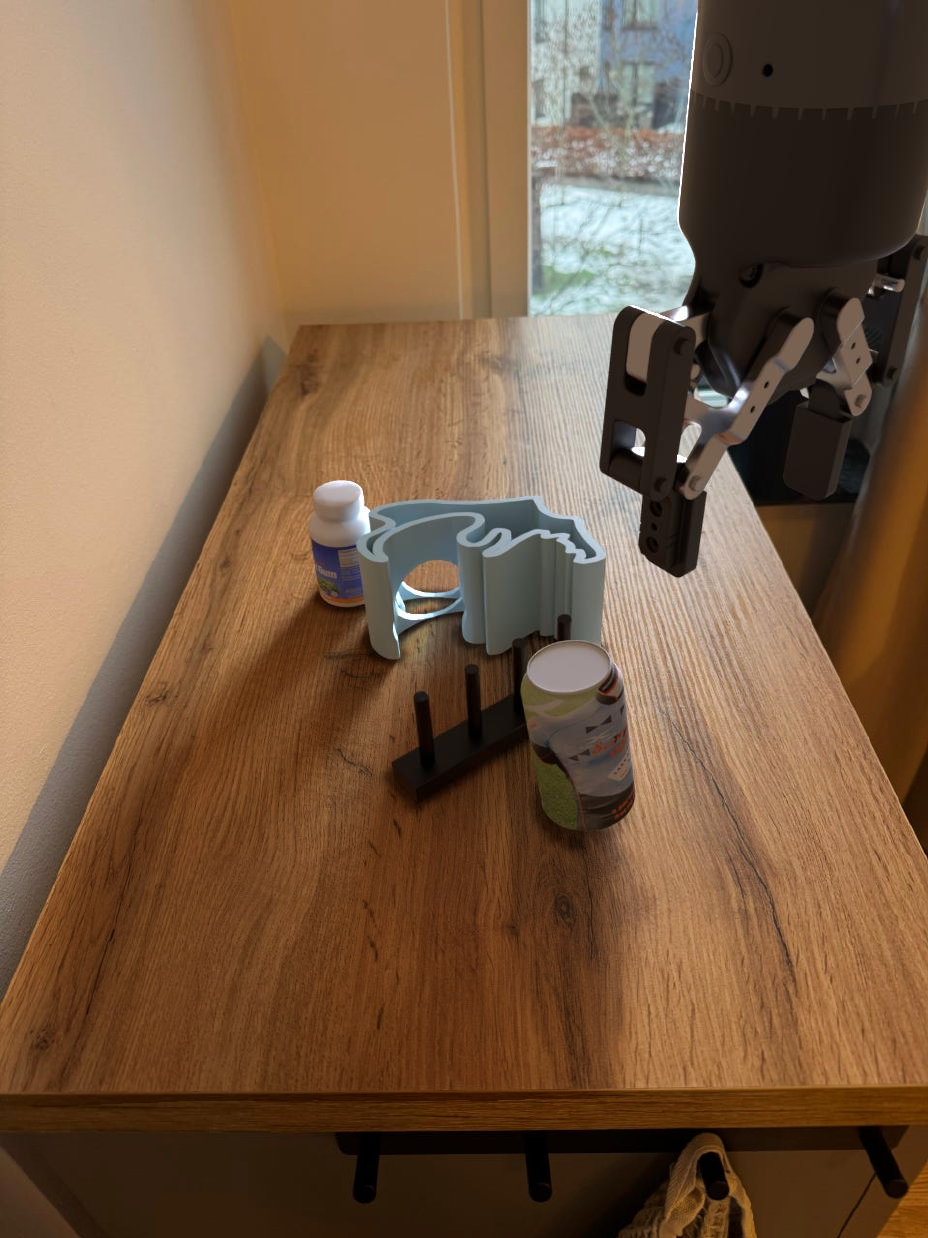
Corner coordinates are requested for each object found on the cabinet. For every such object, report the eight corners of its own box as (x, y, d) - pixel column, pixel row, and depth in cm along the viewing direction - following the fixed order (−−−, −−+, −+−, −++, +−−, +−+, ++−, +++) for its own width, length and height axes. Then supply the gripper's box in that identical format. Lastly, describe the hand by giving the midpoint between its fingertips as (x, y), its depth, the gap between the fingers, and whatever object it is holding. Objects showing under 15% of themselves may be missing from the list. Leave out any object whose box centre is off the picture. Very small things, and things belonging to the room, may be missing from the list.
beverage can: (621, 855, 57) (634, 717, 49) (508, 824, 59) (504, 687, 51) (643, 781, 61) (659, 644, 53) (537, 754, 63) (538, 620, 56)
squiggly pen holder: (583, 583, 78) (588, 489, 72) (602, 661, 70) (608, 562, 64) (372, 596, 78) (359, 503, 72) (368, 675, 70) (352, 577, 64)
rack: (596, 696, 67) (601, 616, 63) (417, 803, 60) (407, 723, 56) (569, 674, 69) (571, 596, 65) (392, 776, 62) (381, 697, 58)
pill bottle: (309, 584, 80) (291, 488, 74) (365, 564, 82) (352, 468, 76) (335, 617, 76) (318, 518, 70) (393, 595, 78) (381, 497, 72)
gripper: (764, 130, 22) (690, 645, 32) (1069, 50, 28) (926, 502, 38) (555, 93, 27) (549, 551, 37) (856, 31, 33) (779, 438, 43)
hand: (741, 526), depth 38 cm, fingers open, 8 cm apart
